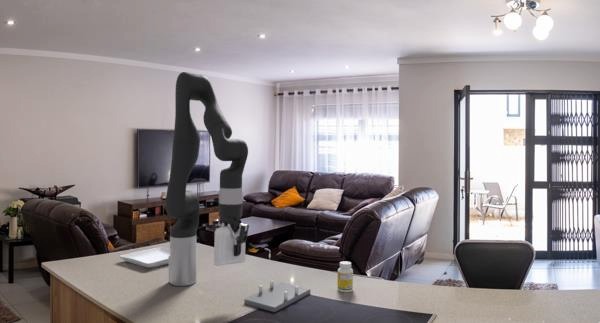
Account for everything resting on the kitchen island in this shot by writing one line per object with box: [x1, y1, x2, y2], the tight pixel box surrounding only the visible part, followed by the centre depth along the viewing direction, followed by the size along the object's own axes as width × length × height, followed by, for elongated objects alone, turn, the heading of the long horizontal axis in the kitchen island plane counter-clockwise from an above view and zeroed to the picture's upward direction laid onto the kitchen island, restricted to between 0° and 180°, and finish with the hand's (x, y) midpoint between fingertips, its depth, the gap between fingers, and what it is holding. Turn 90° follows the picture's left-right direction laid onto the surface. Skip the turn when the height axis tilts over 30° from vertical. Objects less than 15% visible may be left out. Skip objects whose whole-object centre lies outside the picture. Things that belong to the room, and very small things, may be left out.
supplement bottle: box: [337, 260, 354, 293], centre depth 149 cm, size 5×5×10 cm
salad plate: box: [119, 246, 170, 269], centre depth 184 cm, size 21×21×3 cm
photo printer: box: [213, 226, 246, 267], centre depth 137 cm, size 10×4×12 cm, turn 124°
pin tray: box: [243, 280, 311, 313], centre depth 141 cm, size 12×20×4 cm, turn 146°
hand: (229, 254), depth 137 cm, fingers closed on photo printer, 5 cm apart
